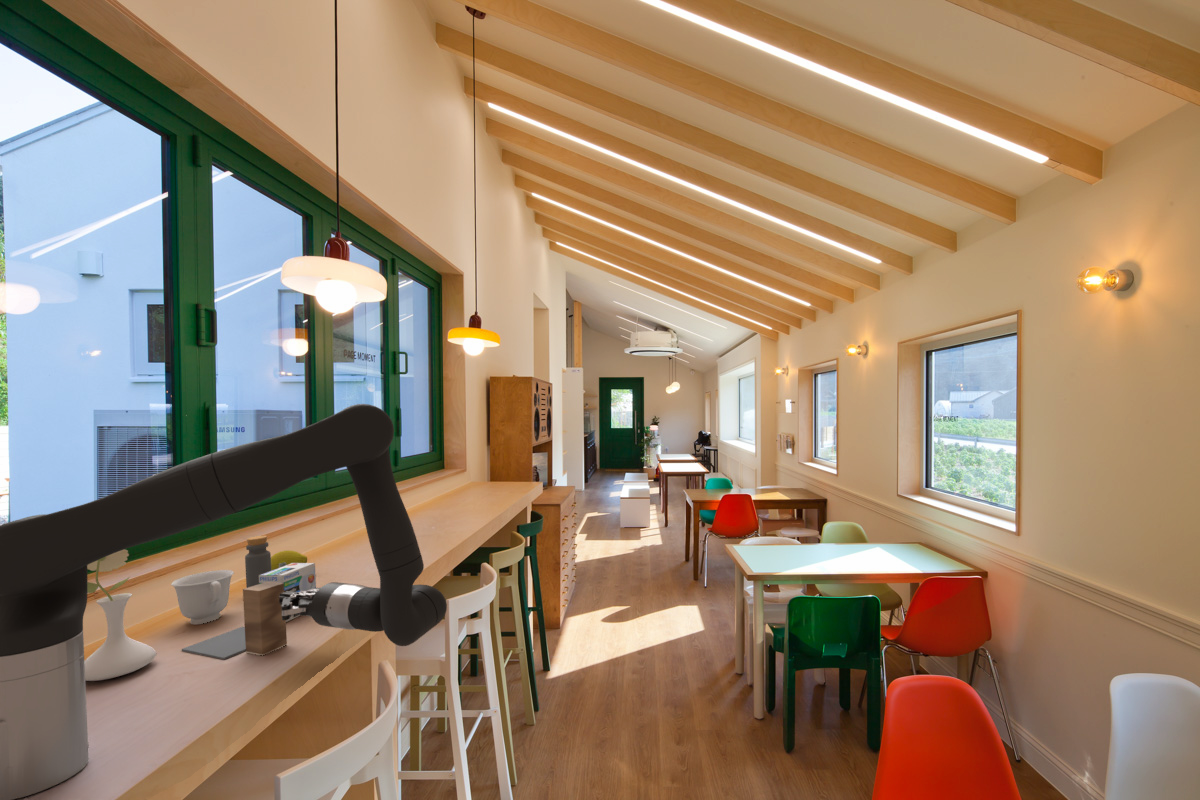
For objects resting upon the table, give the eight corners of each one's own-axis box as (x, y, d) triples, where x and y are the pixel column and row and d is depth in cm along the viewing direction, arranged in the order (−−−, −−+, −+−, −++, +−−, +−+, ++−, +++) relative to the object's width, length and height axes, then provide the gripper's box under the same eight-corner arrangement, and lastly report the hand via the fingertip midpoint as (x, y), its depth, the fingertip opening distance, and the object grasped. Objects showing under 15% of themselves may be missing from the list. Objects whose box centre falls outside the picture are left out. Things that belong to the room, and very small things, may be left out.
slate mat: (283, 635, 116) (283, 633, 116) (224, 659, 106) (224, 657, 106) (242, 628, 122) (242, 626, 123) (181, 650, 112) (181, 648, 112)
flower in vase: (172, 657, 109) (166, 528, 109) (120, 686, 97) (113, 542, 98) (107, 661, 109) (101, 533, 110) (47, 690, 98) (41, 546, 98)
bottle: (248, 593, 150) (245, 537, 151) (273, 588, 153) (270, 533, 153) (245, 598, 145) (242, 541, 145) (271, 594, 147) (268, 537, 148)
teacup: (187, 636, 120) (185, 589, 120) (165, 624, 129) (163, 580, 129) (249, 617, 129) (247, 574, 130) (225, 607, 138) (223, 567, 139)
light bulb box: (285, 623, 124) (282, 575, 124) (259, 623, 125) (256, 575, 125) (318, 606, 134) (316, 561, 135) (294, 606, 136) (292, 562, 136)
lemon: (260, 583, 159) (259, 555, 159) (275, 575, 167) (274, 549, 167) (299, 580, 160) (297, 552, 160) (312, 573, 167) (310, 546, 168)
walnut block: (262, 656, 106) (259, 591, 107) (246, 652, 108) (242, 589, 109) (287, 645, 111) (283, 583, 111) (270, 642, 113) (267, 581, 113)
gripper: (374, 574, 106) (312, 568, 113) (311, 596, 94) (247, 588, 101) (376, 613, 106) (314, 605, 113) (314, 641, 94) (249, 630, 101)
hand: (283, 597), depth 107 cm, fingers closed
